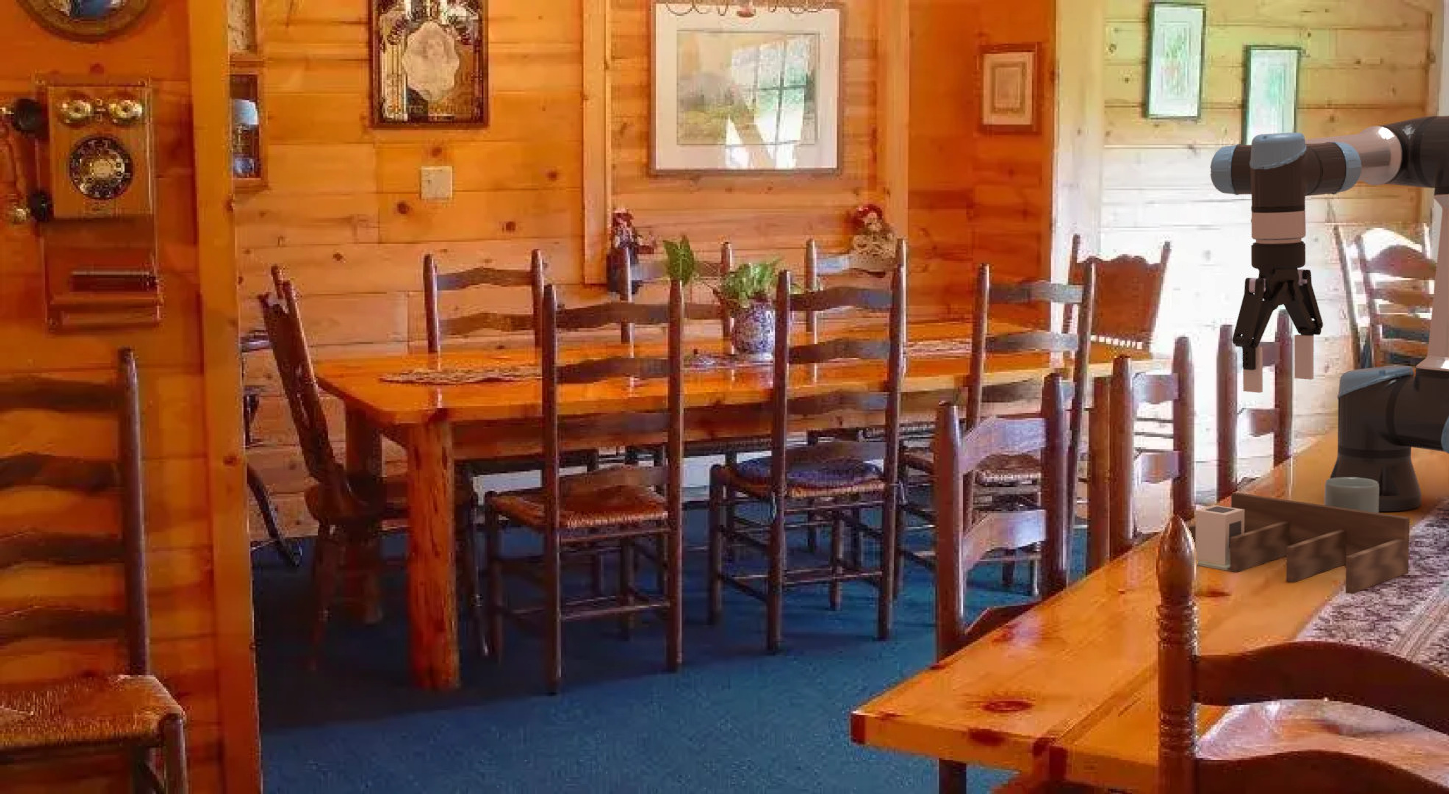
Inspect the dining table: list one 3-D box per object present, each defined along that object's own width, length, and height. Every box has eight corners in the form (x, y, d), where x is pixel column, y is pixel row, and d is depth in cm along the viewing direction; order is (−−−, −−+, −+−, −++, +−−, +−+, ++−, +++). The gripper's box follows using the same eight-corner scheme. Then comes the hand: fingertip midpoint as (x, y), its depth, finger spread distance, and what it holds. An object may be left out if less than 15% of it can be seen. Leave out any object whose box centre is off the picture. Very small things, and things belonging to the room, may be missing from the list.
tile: (1223, 551, 266) (1223, 548, 266) (1264, 558, 260) (1264, 555, 260) (1185, 563, 259) (1185, 560, 259) (1227, 570, 254) (1227, 568, 254)
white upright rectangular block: (1214, 554, 262) (1214, 504, 261) (1244, 559, 259) (1245, 509, 257) (1195, 560, 259) (1195, 509, 258) (1225, 565, 255) (1226, 514, 254)
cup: (1381, 552, 262) (1383, 487, 260) (1327, 552, 263) (1328, 486, 262) (1373, 541, 269) (1375, 477, 268) (1320, 540, 271) (1321, 476, 269)
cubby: (1235, 543, 270) (1235, 492, 269) (1408, 572, 250) (1409, 517, 249) (1176, 561, 260) (1177, 508, 259) (1352, 593, 239) (1353, 536, 238)
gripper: (1301, 232, 265) (1301, 371, 268) (1206, 247, 249) (1207, 395, 252) (1347, 233, 259) (1347, 375, 263) (1252, 248, 243) (1253, 399, 247)
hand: (1278, 385), depth 258 cm, fingers open, 13 cm apart
